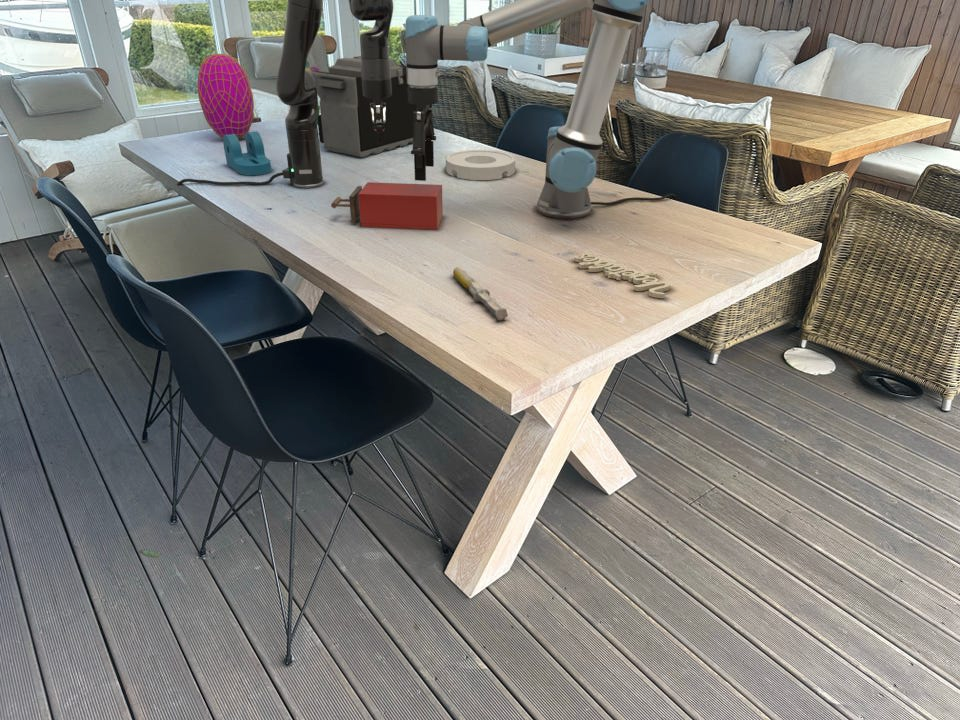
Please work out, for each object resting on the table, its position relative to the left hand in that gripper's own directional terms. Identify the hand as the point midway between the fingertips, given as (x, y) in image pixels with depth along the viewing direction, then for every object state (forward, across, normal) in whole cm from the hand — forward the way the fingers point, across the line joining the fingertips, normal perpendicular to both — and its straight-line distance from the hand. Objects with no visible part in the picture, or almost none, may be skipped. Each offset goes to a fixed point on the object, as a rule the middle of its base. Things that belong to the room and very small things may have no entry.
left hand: (380, 141), depth 184 cm
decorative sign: (+19, -52, -53) cm, 77 cm away
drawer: (+18, -9, +1) cm, 20 cm away
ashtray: (+19, +38, -32) cm, 54 cm away
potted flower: (+19, +120, +29) cm, 125 cm away
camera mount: (+19, +48, +44) cm, 68 cm away
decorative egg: (+19, +92, +57) cm, 110 cm away
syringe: (+19, -60, -19) cm, 65 cm away
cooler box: (+19, +76, +4) cm, 79 cm away
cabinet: (+19, -10, -5) cm, 22 cm away
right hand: (+6, -12, -11) cm, 17 cm away
